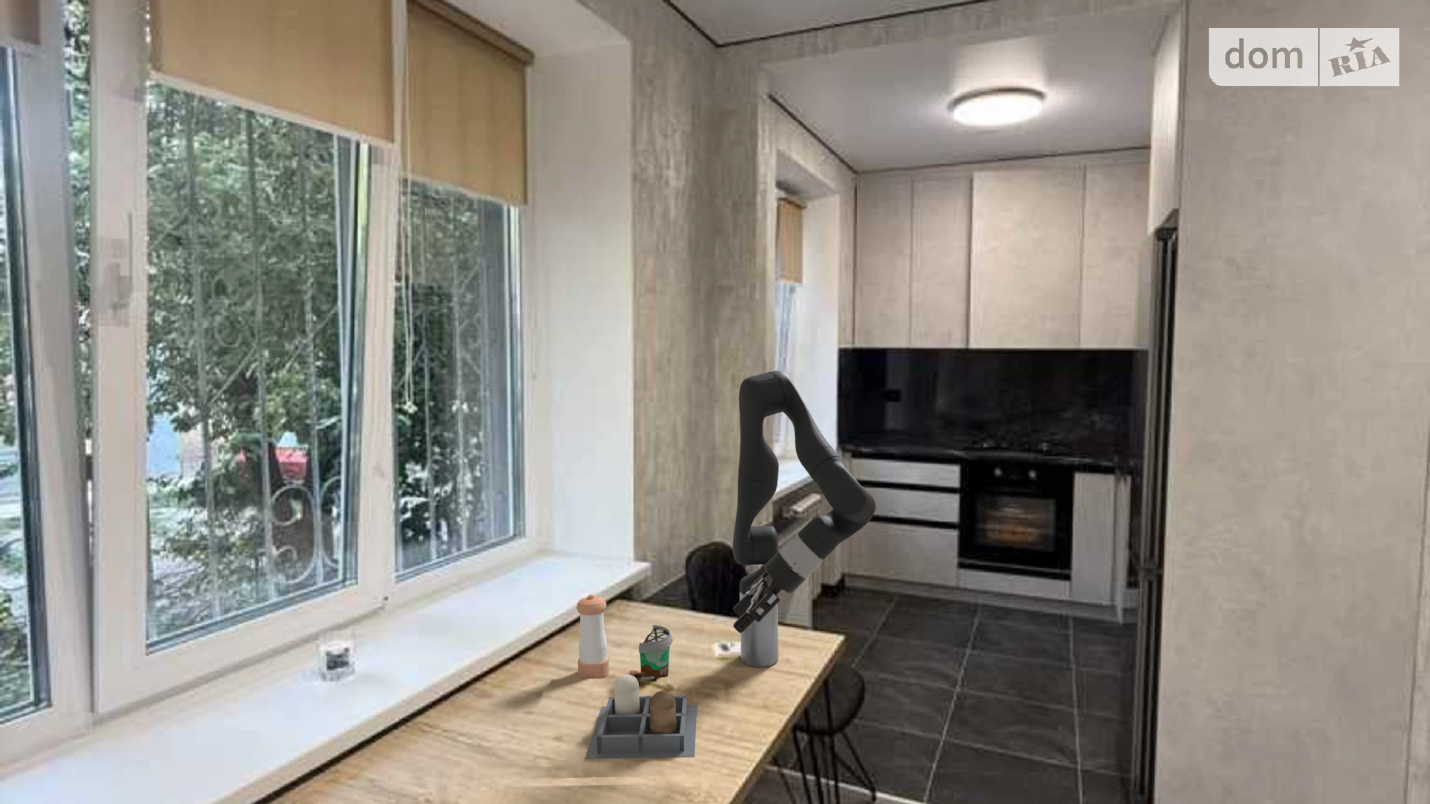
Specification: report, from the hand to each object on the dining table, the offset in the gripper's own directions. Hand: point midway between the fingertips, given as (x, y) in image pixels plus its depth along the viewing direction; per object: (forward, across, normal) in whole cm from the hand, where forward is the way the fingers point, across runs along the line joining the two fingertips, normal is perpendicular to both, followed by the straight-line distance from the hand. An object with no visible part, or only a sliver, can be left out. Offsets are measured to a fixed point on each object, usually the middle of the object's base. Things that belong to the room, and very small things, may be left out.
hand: (736, 621), depth 147 cm
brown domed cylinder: (+26, +3, +5) cm, 27 cm away
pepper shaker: (+41, -29, -7) cm, 51 cm away
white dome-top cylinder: (+32, -4, 0) cm, 32 cm away
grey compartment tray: (+30, 0, +3) cm, 30 cm away
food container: (+30, -28, +4) cm, 41 cm away
